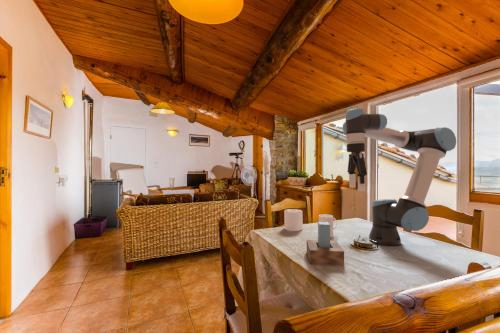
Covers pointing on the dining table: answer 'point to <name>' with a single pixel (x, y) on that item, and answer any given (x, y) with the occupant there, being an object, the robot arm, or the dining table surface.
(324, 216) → the mug
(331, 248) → the socket
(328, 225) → the peg
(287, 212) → the cup
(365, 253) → the dining table surface
